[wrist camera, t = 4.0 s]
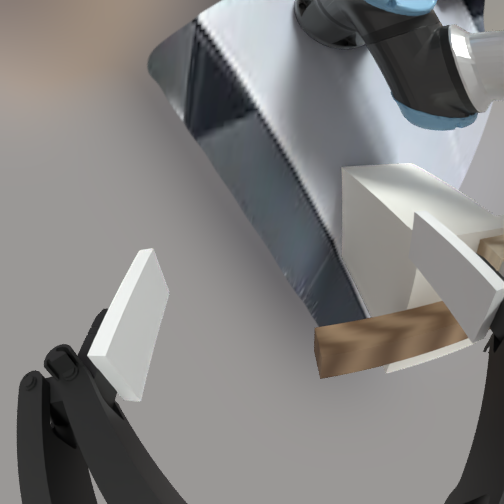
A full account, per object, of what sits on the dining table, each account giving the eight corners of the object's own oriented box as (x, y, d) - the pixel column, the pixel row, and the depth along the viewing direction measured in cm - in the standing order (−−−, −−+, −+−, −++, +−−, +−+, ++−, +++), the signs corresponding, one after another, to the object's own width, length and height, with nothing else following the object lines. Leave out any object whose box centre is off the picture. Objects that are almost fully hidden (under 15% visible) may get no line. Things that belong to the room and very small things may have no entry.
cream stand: (337, 261, 61) (385, 373, 35) (336, 162, 49) (422, 240, 24) (407, 250, 60) (475, 343, 34) (416, 158, 48) (522, 224, 23)
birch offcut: (469, 275, 26) (487, 295, 23) (480, 239, 24) (501, 258, 20) (498, 267, 26) (515, 285, 22) (508, 233, 23) (528, 250, 20)
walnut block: (314, 350, 31) (320, 378, 27) (314, 327, 29) (321, 357, 25) (491, 304, 29) (504, 322, 26) (500, 283, 27) (515, 300, 24)
